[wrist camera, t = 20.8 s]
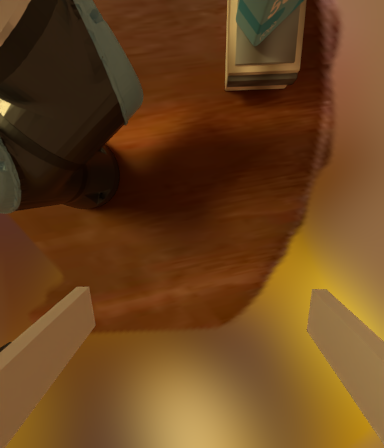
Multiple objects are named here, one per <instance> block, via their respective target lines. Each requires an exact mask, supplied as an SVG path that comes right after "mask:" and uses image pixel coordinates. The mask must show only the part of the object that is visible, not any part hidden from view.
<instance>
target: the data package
mask: <svg viewBox="0 0 384 448" xmlns="http://www.w3.org/2000/svg"><path fill="white" fill-rule="evenodd" d="M303 1H304V0H239V3H238V8H237V14H236V23H237V24H238V25H239V27H240V28H241V29H242V31H243V32H244V34H245V35H246V36H247V38H248V39H249V41H250V42H251V43H252V45H253V46H257V45H259V44H260V43H261V42H262V41H263V40H264V39H265V38H266V37H267V36H268V35H269V34H270V33H271V32H272V31H273V30H274V29H275V28H276V27H277V26H278V25H279V24H280V23H281V22H282V21H283V20H284V19H285V18H286V17H287V16H288V15H290V14H291V13H292V12H293V11H294V10H295V9H296V8H297V7H298V6H299V5H300V4H301V3H302V2H303Z"/></svg>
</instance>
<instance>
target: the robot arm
mask: <svg viewBox="0 0 384 448" xmlns="http://www.w3.org/2000/svg"><path fill="white" fill-rule="evenodd" d="M142 102H143V91H142V87H141V84H140V82H139V79H138V77H137V75H136V73H135V71H134V69H133V67H132V65H131V63H130V62H129V60H128V58H127V56H126V54H125V53H124V51H123V49H122V47H121V46H120V44H119V42H118V40H117V39H116V37H115V35H114V34H113V32H112V30H111V29H110V27H109V26H108V24H107V23H106V22H105V21H104V20H103V18H102V15H101V14H100V12H99V11H98V9H97V8H96V6H95V4H94V2H93V1H92V0H0V213H12V211H18V210H25V209H31V208H38V207H45V206H52V205H59V204H64V205H67V206H71V207H74V208H79V209H90V208H95V207H99V206H101V205H103V204H105V203H107V202H108V201H109V200H110V199H111V198H112V197H113V195H114V194H115V192H116V190H117V187H118V184H119V168H118V164H117V161H116V159H115V157H114V155H113V153H112V152H111V151H110V149H109V148H108V147H107V146H106V145H105V143H106V142H107V141H108V140H109V139H110V138H111V137H112V136H113V135H114V134H115V133H116V132H117V131H118V130H119V129H120V128H121V127H122V126H123V125H127V123H128V120H129V119H130V118H131V116H132V115H133V114H134V113H135V112H136V111H137V110H138V109H139V107H140V106H141V104H142ZM94 327H95V320H94V314H93V308H92V302H91V296H90V290H89V287H76V288H75V289H74V290H73V291H72V292H70V293H69V294H68V295H67V296H66V297H65V298H63V299H62V300H61V301H60V302H59V303H57V304H56V305H55V306H54V307H53V308H52V309H50V310H49V311H48V312H47V313H46V314H45V315H43V316H42V317H41V318H40V319H39V320H38V321H36V322H35V323H34V324H33V325H32V326H30V327H29V328H28V329H27V330H26V331H25V332H24V333H22V334H21V335H20V336H19V337H18V338H17V339H15V340H14V341H13V342H9V343H7V344H6V345H4V346H2V347H1V348H0V448H5V447H6V446H7V444H8V443H9V441H10V440H11V439H12V437H13V436H14V435H15V433H16V432H17V431H18V429H19V428H20V427H21V425H22V424H23V423H24V421H25V420H26V418H27V417H28V416H29V415H30V413H31V412H32V410H33V409H34V408H35V406H36V405H37V403H38V402H39V401H40V400H41V398H42V397H43V395H44V394H45V393H46V391H47V390H48V389H49V387H50V386H51V385H52V383H53V382H54V381H55V379H56V378H57V377H58V375H59V374H60V372H61V371H62V370H63V369H64V367H65V366H66V365H67V363H68V362H69V360H70V359H71V358H72V356H73V355H74V354H75V352H76V351H77V350H78V348H79V347H80V346H81V344H82V343H83V341H84V340H85V339H86V337H87V336H88V335H89V333H90V332H91V331H92V329H93V328H94ZM307 332H308V333H309V334H310V336H311V337H312V339H313V340H314V342H315V343H316V345H317V346H318V348H319V349H320V351H321V352H322V354H323V355H324V357H325V358H326V360H327V361H328V363H329V364H330V366H331V367H332V369H333V370H334V371H335V373H336V374H337V376H338V377H339V379H340V380H341V382H342V383H343V385H344V386H345V388H346V389H347V391H348V392H349V393H350V395H351V397H352V398H353V399H354V401H355V403H356V404H357V405H358V407H359V408H360V410H361V411H362V413H363V414H364V416H365V417H366V419H367V420H368V422H369V423H370V425H371V426H372V428H373V429H374V430H375V432H376V433H377V435H378V436H379V438H380V439H381V441H382V442H383V444H384V342H383V340H381V339H380V338H379V337H378V336H377V335H376V334H375V333H374V332H373V331H371V330H370V329H369V328H368V327H367V326H366V325H365V324H364V323H363V322H362V321H361V320H359V319H358V318H357V317H356V316H355V315H354V314H353V313H352V312H350V310H348V309H347V308H346V307H345V306H344V305H343V304H342V303H341V302H340V301H338V300H337V299H336V298H335V297H334V296H333V295H332V294H331V293H330V292H328V291H327V290H325V289H323V290H322V289H321V290H319V289H313V290H312V296H311V303H310V311H309V318H308V326H307Z"/></svg>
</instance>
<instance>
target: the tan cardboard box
mask: <svg viewBox="0 0 384 448" xmlns="http://www.w3.org/2000/svg"><path fill="white" fill-rule="evenodd" d="M306 1H307V0H304V1H303V2H302V3H301V4H300V5H299V6H298V7H297V8H296V9H295V10H294V11H293V12H292V13H291V14H290V15H288V16H287V17H286V18H285V19H284V20H283V21H282V22H281V23H280V24H279V25H278V26H277V27H276V28H275V29H274V30H273V31H272V32H271V33H270V34H269V35H268V36H267V37H266V38H265V39H264V40H263V41H262V42H261V43H260V44H259V45H257V46H253V45H252V43H251V42H250V41H249V39H248V38H247V36H246V35H245V34H244V32H243V31H242V29H241V28H240V27H239V25H238V24H237V23H236V14H237V8H238V3H239V0H227V36H226V72H225V91H233V90H259V89H284V88H285V87H286V86H287V85H292V84H293V82H294V81H295V80H296V79H297V73H298V71H299V70H300V63H301V52H302V42H303V32H304V21H305V11H306Z"/></svg>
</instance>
